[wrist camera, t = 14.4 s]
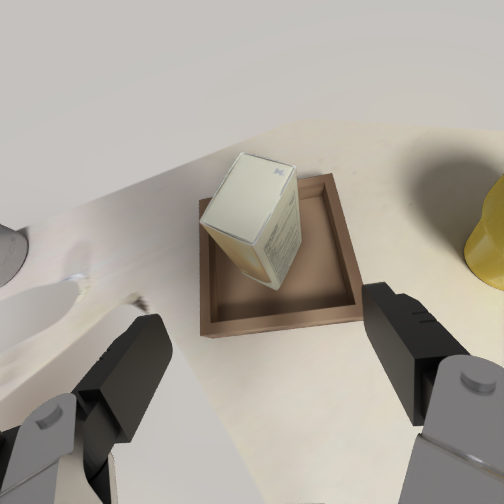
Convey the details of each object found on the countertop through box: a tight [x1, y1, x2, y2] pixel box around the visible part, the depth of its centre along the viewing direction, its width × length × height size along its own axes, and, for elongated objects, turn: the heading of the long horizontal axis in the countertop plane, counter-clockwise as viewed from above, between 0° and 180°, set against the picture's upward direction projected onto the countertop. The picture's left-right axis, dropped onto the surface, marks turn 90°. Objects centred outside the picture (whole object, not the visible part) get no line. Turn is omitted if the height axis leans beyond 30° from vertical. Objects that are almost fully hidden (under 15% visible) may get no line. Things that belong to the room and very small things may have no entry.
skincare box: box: [200, 152, 302, 290], centre depth 22 cm, size 6×4×12 cm
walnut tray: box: [199, 173, 363, 338], centre depth 27 cm, size 15×15×3 cm
